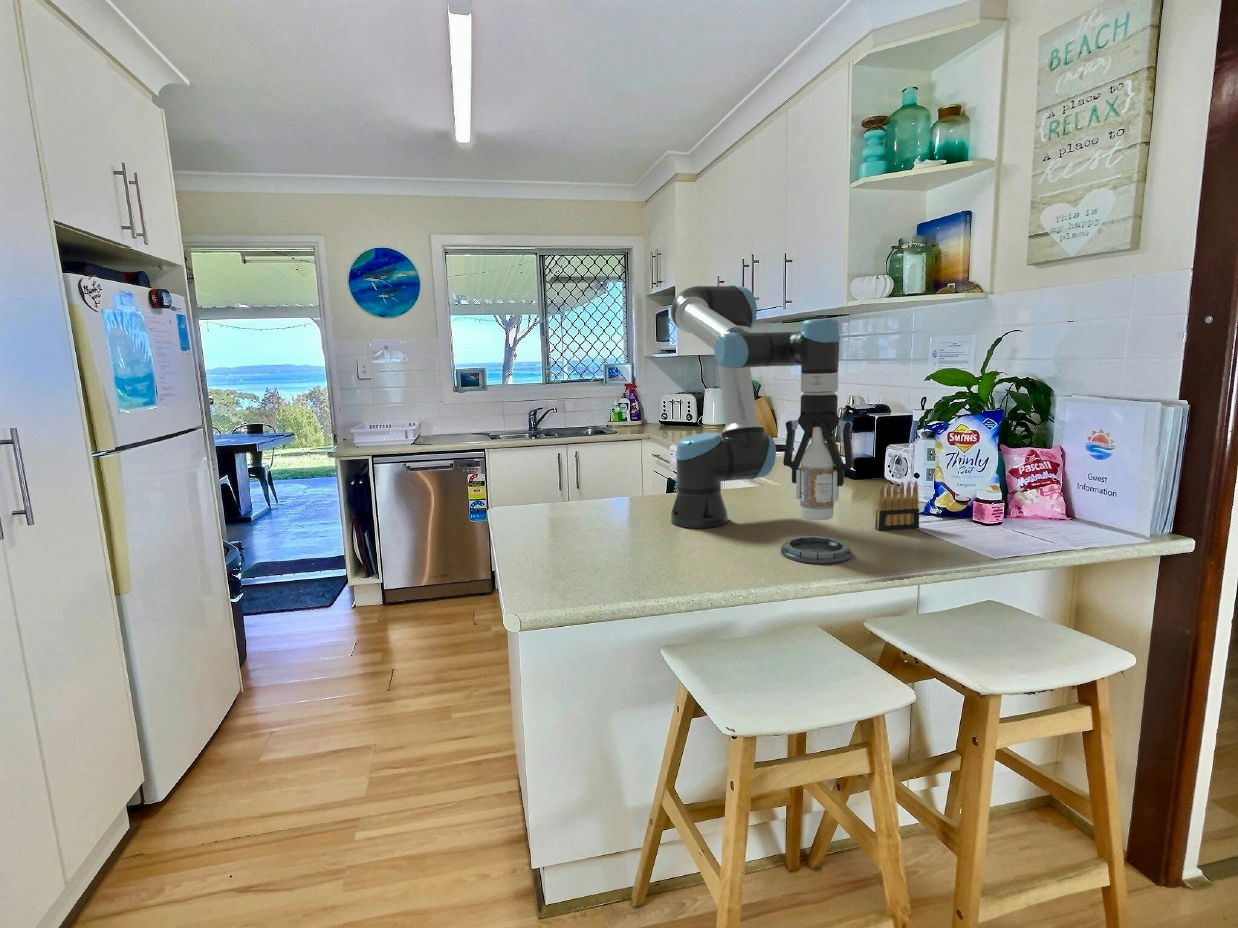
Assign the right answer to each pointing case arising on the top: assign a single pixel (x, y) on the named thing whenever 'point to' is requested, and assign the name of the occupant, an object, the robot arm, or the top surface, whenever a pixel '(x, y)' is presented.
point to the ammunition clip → (897, 508)
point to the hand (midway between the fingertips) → (817, 499)
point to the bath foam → (817, 479)
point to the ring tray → (816, 550)
